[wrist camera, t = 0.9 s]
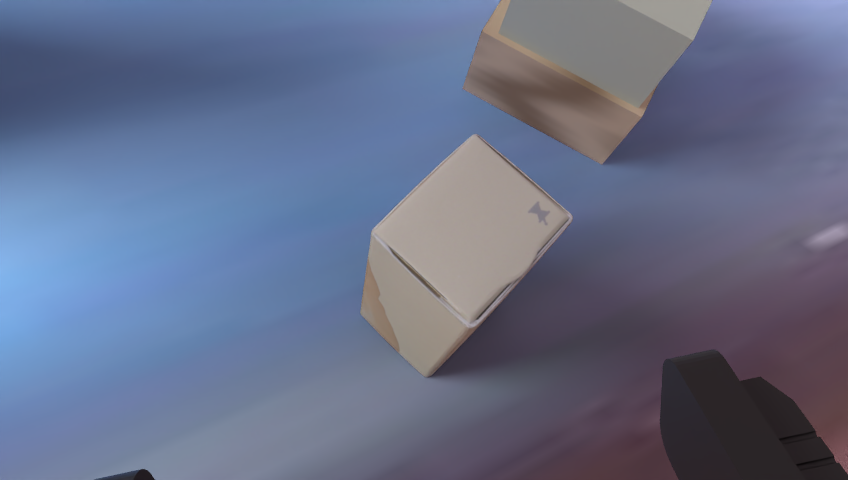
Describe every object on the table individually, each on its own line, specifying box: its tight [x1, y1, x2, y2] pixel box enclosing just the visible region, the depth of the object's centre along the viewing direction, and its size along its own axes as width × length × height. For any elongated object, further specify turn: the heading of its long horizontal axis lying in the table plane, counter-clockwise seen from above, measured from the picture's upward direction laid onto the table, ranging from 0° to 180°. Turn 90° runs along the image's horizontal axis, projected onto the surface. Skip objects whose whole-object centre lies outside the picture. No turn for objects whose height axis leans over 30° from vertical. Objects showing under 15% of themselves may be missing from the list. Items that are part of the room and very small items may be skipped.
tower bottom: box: [462, 0, 657, 164], centre depth 35 cm, size 8×8×5 cm
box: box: [360, 134, 573, 377], centre depth 26 cm, size 5×4×11 cm
